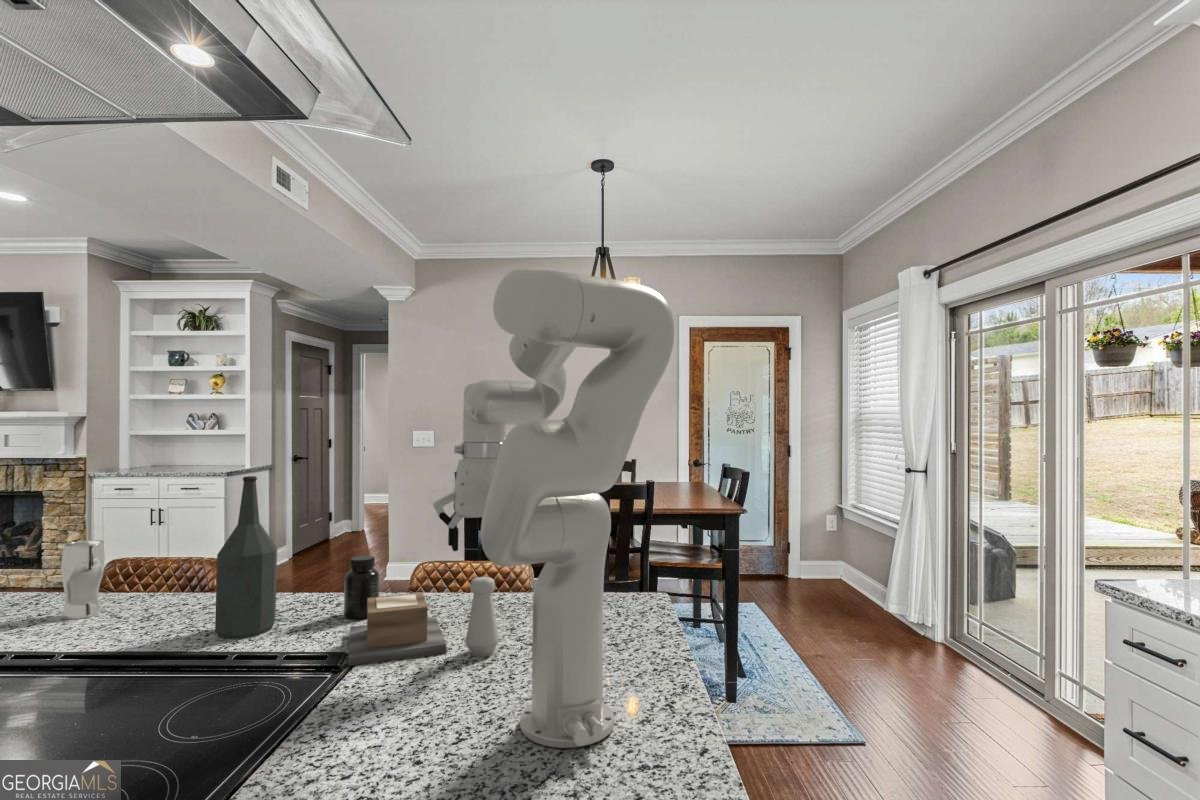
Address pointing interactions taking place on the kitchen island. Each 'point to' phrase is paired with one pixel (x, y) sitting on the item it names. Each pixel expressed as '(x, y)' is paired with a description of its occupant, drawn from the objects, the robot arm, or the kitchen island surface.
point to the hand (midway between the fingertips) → (482, 547)
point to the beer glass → (82, 577)
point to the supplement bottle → (360, 587)
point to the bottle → (246, 574)
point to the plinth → (394, 649)
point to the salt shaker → (482, 619)
